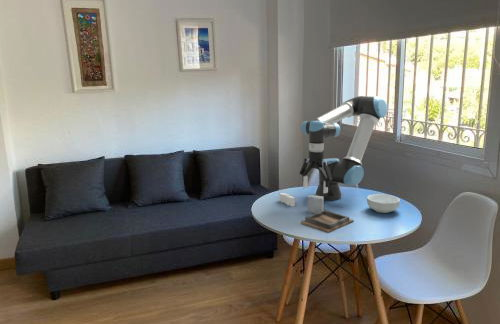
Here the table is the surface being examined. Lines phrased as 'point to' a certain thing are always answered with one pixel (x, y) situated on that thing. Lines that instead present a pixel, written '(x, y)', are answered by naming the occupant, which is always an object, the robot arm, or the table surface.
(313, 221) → the wooden tray
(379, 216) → the table surface
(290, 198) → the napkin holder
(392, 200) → the cereal bowl
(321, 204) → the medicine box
